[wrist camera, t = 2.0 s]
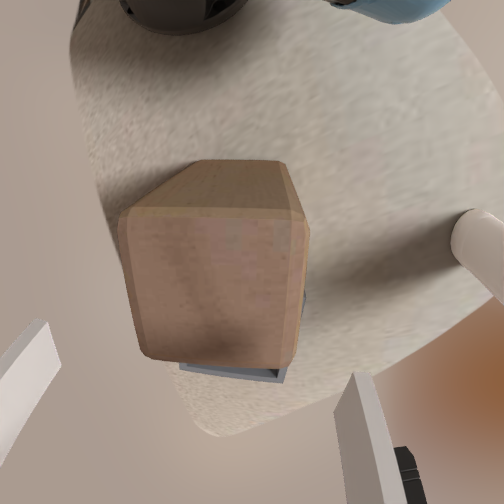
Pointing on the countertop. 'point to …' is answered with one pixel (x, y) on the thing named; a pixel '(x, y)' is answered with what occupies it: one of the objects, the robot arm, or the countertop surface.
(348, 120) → the countertop surface
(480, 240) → the bottle
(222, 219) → the wooden block
